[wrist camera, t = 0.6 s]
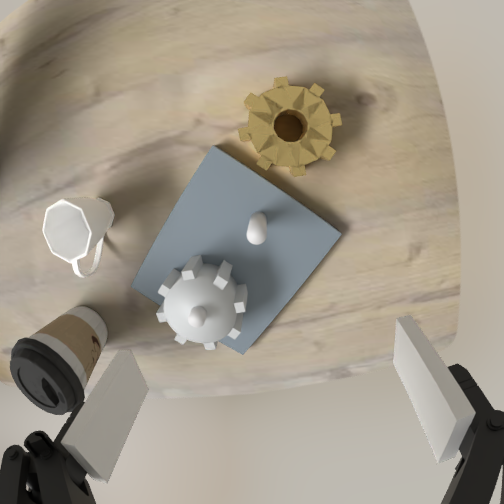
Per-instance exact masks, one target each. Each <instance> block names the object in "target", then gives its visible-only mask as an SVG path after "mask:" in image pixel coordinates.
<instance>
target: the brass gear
mask: <svg viewBox="0 0 504 504" xmlns="http://www.w3.org/2000/svg"><path fill="white" fill-rule="evenodd" d="M273 87H274V89H272V90H269V91H267V92H265V93H263V94H261V96H260V97H257V96H256V95H254V94H252V93H250V94H249V96H248V97H247V98H246V100H245V101H244V104H245V106H246V108H247V109H249V110H250V111H249V121H248V127H245V128H240V129H238V131H239V136H240V141H243V142H245V141H250V140H251V141H252V143H253V145H254V147H255V149H256V151H257V153H258V154H260V155H261V157H260V159H259V160H258V162H257V163H256V164H257V165H259V166H260V167H261V168H263V169H264V170H266V171H267V170H268V168H269V167H270V165H271V164H272V163H273V164H275V165H276V166H286V167H289V168H290V173H291V174H292V175H293V176H294V177H297V176H303V175H306V171H305V165H306V164H308V163H310V162H313V161H315V160H317V159H319V158H321V159H324V160H328V161H330V159H331V158H332V157H333V155H334V154H335V152H336V150H334V149H333V148H332V147H330V146H329V144H330V143H331V139H332V128H333V127H337V126H340V125H342V122H341V116H340V113H336V114H330V113H329V110H328V108H327V106H326V104H325V102H324V100H323V99H321V98H320V96H321V94H322V93H323V92H324V89H323V88H321V87H320V86H318V85H317V84H315V83H314V84H313V85H312V87H311V88H310V89H309V90H308V89H307V88H305V87H298V86H289V84H288V79H287V76H286V77H279V78H274V86H273ZM284 114H290V115H294V116H295V117H297V118H298V119H299V120H300V122H301V124H302V126H303V128H302V134H301V136H300V137H299V139H298V140H296V141H294V142H285V141H283V140H282V139H281V138H279V137H278V136H277V134H276V132H275V130H274V121H275V120H276V119H277V117H279V116H281V115H284Z"/></svg>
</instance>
